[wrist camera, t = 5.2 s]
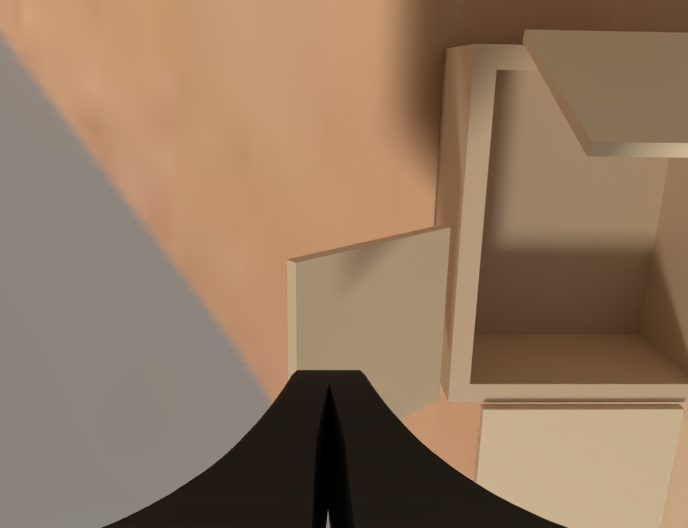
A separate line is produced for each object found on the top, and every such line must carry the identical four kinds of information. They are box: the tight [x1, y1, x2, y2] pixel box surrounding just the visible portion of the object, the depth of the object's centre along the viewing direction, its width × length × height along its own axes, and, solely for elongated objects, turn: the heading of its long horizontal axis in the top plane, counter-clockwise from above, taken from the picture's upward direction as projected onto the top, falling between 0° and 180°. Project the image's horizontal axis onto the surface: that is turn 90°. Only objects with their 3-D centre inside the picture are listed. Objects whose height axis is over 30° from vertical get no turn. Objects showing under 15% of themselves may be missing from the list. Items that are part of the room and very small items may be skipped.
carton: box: [434, 44, 688, 528], centre depth 20 cm, size 15×12×4 cm
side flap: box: [287, 225, 451, 419], centre depth 15 cm, size 5×5×1 cm
